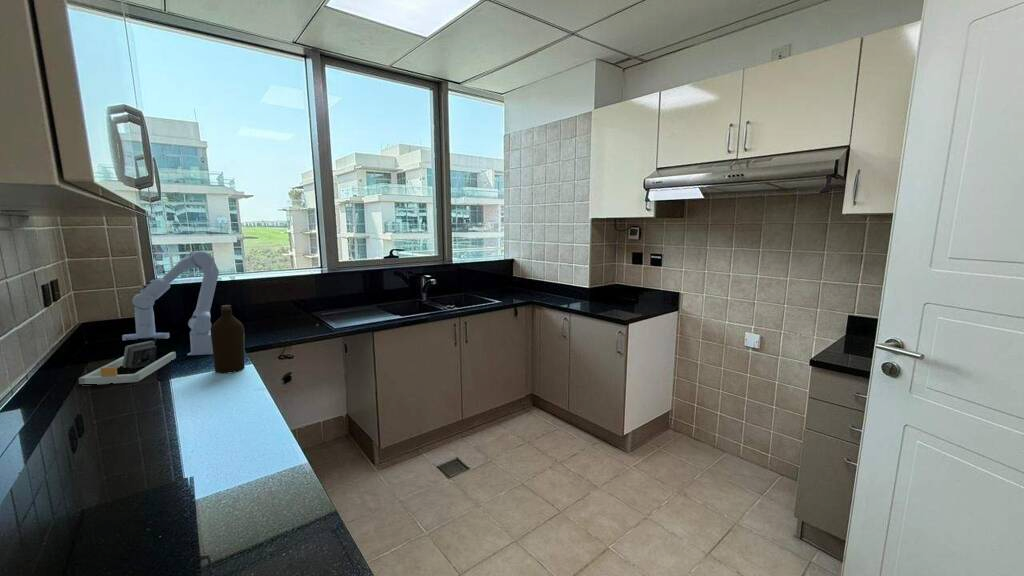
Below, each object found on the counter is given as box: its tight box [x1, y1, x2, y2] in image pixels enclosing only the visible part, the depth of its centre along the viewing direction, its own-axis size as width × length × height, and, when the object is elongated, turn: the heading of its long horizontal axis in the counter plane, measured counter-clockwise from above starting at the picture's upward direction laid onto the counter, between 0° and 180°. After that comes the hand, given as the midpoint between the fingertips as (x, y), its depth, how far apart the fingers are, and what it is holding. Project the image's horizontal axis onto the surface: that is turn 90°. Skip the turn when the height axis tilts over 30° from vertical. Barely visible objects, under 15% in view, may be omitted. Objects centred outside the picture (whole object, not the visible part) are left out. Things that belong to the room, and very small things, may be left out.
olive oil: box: [210, 304, 245, 374], centre depth 158 cm, size 11×11×25 cm
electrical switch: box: [121, 341, 158, 370], centre depth 161 cm, size 9×5×9 cm, turn 162°
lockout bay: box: [78, 351, 177, 385], centre depth 156 cm, size 16×29×6 cm, turn 18°
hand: (147, 356), depth 166 cm, fingers closed
